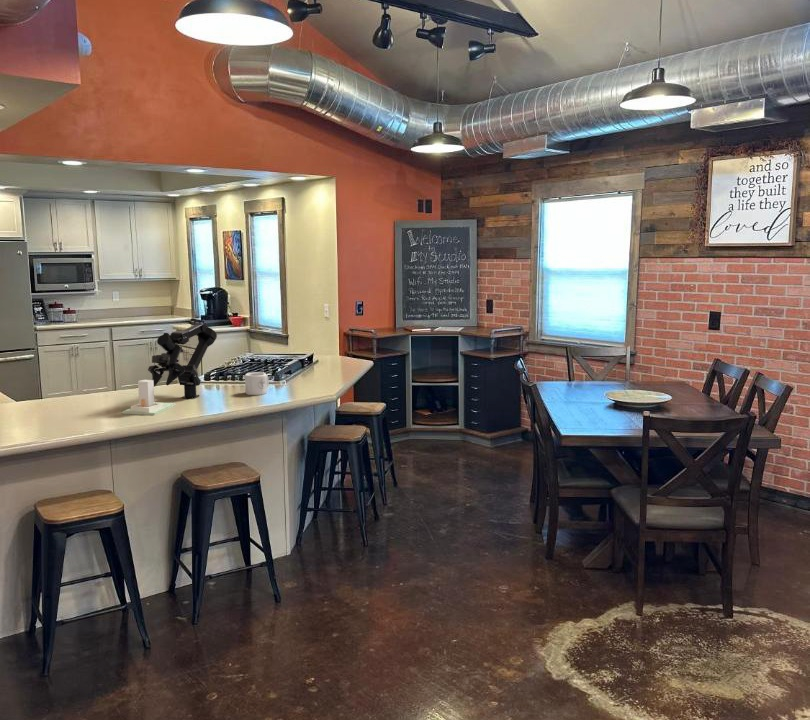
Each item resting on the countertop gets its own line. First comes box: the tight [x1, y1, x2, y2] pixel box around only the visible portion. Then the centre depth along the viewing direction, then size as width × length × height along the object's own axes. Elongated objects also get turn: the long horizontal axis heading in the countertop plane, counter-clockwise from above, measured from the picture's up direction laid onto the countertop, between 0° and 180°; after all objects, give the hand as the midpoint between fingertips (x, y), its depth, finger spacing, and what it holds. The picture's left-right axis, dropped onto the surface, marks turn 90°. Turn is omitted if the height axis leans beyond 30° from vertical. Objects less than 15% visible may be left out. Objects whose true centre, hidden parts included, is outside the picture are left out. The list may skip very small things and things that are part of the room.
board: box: [121, 401, 176, 416], centre depth 309 cm, size 20×15×1 cm
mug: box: [244, 371, 269, 396], centre depth 347 cm, size 14×11×10 cm
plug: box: [137, 379, 155, 407], centre depth 303 cm, size 5×5×13 cm
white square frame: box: [130, 402, 163, 412], centre depth 305 cm, size 10×10×2 cm
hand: (160, 385), depth 312 cm, fingers open, 9 cm apart
